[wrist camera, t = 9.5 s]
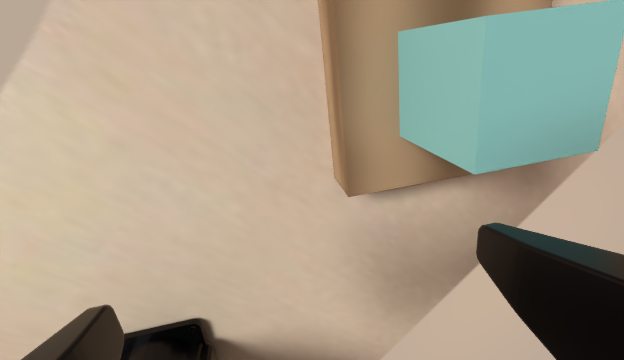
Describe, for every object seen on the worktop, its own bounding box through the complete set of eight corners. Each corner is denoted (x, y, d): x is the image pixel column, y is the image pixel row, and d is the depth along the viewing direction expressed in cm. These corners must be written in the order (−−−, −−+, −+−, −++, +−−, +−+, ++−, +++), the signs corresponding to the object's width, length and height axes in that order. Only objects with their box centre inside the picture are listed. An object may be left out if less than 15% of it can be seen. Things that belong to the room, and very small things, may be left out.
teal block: (399, 136, 17) (474, 174, 11) (397, 31, 15) (486, 15, 9) (486, 121, 17) (597, 150, 12) (495, 19, 16) (632, -3, 10)
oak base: (334, 178, 20) (348, 196, 17) (315, -25, 16) (330, -42, 13) (492, 150, 22) (528, 163, 19) (512, -43, 18) (561, -62, 15)
